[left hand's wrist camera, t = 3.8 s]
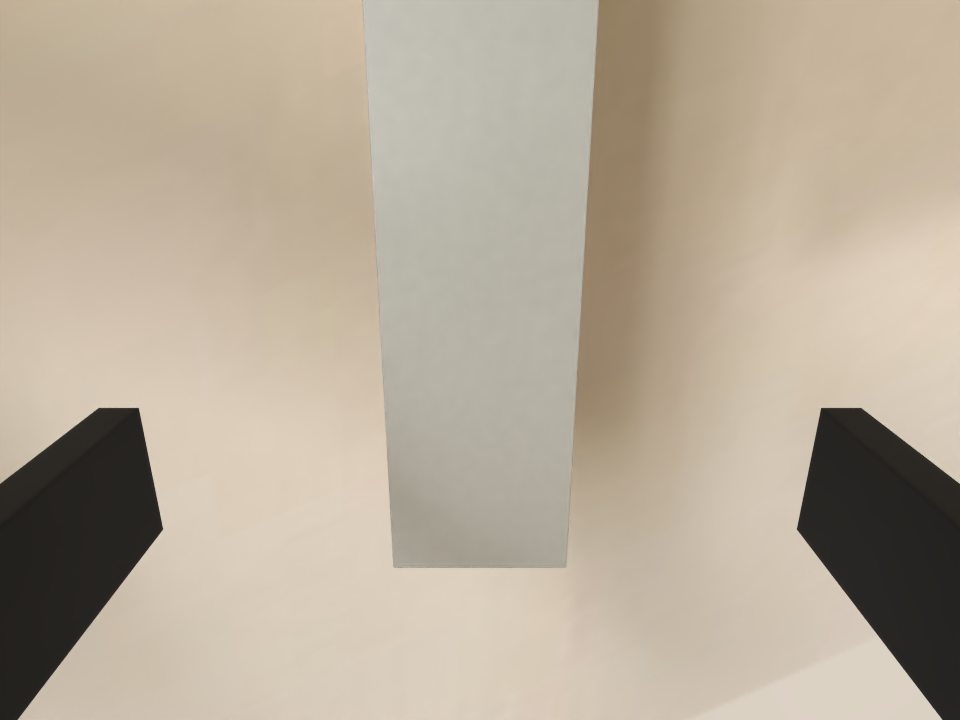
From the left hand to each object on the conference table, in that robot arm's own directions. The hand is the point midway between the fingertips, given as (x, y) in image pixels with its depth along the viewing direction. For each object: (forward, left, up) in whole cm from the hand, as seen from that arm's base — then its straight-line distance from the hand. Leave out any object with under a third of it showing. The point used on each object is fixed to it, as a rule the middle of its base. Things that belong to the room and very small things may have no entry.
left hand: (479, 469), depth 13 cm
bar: (+18, +13, -12) cm, 26 cm away
